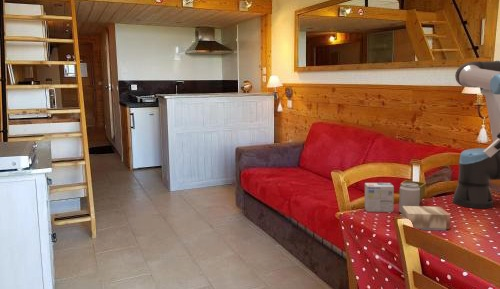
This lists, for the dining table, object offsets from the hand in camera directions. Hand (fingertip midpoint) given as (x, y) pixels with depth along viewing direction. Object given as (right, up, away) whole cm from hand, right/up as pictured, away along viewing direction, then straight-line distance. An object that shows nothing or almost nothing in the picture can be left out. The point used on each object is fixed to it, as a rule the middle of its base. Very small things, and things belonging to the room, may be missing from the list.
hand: (486, 154), depth 141 cm
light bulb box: (-30, -24, +25) cm, 46 cm away
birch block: (-12, -23, +5) cm, 26 cm away
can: (-20, -24, +19) cm, 37 cm away
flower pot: (-13, -22, +33) cm, 42 cm away
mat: (-20, -26, +6) cm, 33 cm away
